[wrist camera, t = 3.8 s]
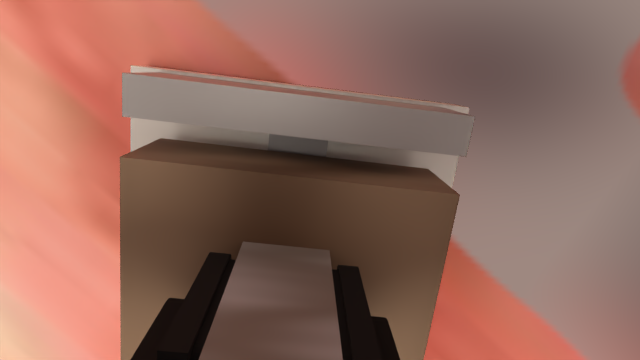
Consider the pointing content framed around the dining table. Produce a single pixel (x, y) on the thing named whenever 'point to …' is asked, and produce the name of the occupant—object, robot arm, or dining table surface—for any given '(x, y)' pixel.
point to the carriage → (280, 245)
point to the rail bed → (294, 119)
